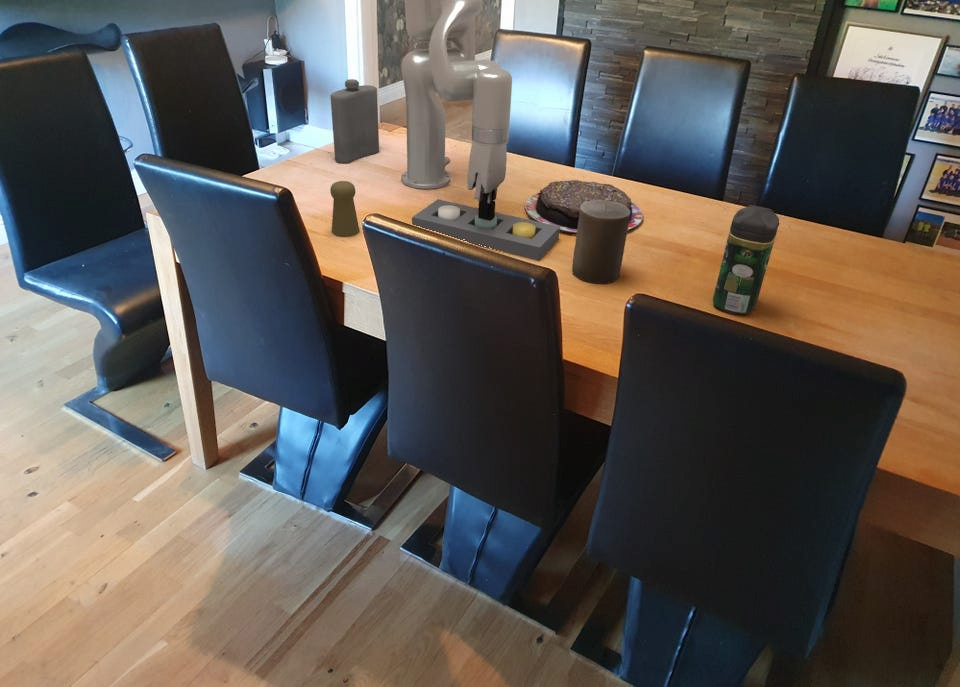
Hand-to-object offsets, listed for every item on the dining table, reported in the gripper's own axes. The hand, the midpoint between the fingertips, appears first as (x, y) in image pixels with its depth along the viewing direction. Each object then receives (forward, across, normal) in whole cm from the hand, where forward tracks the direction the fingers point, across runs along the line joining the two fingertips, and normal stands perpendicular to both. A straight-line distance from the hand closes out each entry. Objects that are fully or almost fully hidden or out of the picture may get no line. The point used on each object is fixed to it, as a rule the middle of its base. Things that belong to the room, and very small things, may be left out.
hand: (486, 218), depth 154 cm
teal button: (+3, 0, 0) cm, 3 cm away
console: (+4, 0, 0) cm, 4 cm away
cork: (+4, +14, -27) cm, 31 cm away
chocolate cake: (+4, -23, +15) cm, 28 cm away
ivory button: (+3, 0, -9) cm, 10 cm away
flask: (+4, -29, -53) cm, 60 cm away
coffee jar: (+4, +4, +54) cm, 54 cm away
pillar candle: (+4, +5, +27) cm, 28 cm away
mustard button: (+3, 0, +9) cm, 10 cm away
